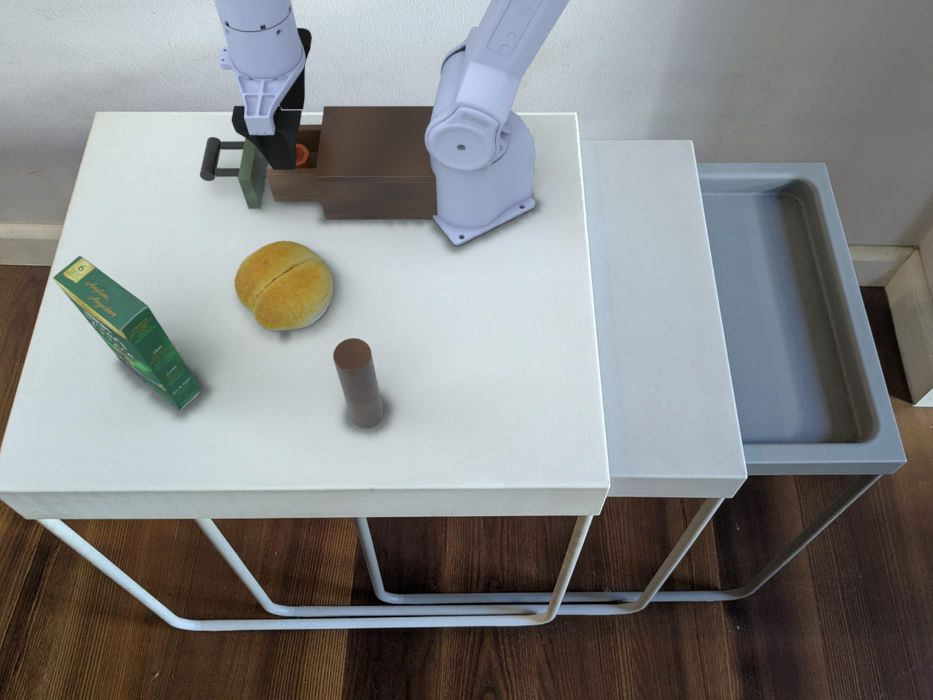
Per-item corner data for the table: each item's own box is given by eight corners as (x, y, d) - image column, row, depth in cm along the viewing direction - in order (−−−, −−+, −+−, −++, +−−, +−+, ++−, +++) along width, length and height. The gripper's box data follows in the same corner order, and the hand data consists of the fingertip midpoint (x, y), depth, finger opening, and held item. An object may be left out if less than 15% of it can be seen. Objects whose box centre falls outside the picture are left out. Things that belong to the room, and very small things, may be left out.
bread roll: (280, 350, 68) (270, 327, 65) (226, 287, 72) (214, 261, 68) (355, 300, 71) (349, 275, 68) (299, 241, 74) (291, 214, 71)
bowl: (303, 155, 77) (299, 138, 75) (317, 173, 76) (313, 158, 74) (276, 167, 76) (271, 151, 75) (290, 186, 75) (285, 170, 73)
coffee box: (117, 362, 68) (47, 275, 56) (142, 339, 69) (79, 250, 57) (179, 413, 65) (119, 334, 54) (204, 390, 66) (151, 306, 55)
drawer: (205, 209, 75) (192, 178, 71) (217, 149, 79) (205, 117, 75) (356, 208, 75) (351, 178, 72) (361, 149, 79) (356, 117, 75)
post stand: (373, 392, 66) (359, 331, 57) (389, 417, 65) (378, 359, 56) (344, 408, 66) (326, 349, 57) (360, 434, 64) (344, 377, 56)
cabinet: (325, 219, 76) (315, 176, 70) (332, 151, 80) (323, 105, 75) (443, 219, 76) (442, 176, 71) (444, 150, 80) (443, 105, 75)
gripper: (217, -49, 64) (255, 82, 76) (188, 72, 57) (235, 195, 69) (303, -49, 64) (327, 82, 76) (284, 72, 57) (314, 195, 69)
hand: (288, 136), depth 72 cm, fingers open, 7 cm apart
